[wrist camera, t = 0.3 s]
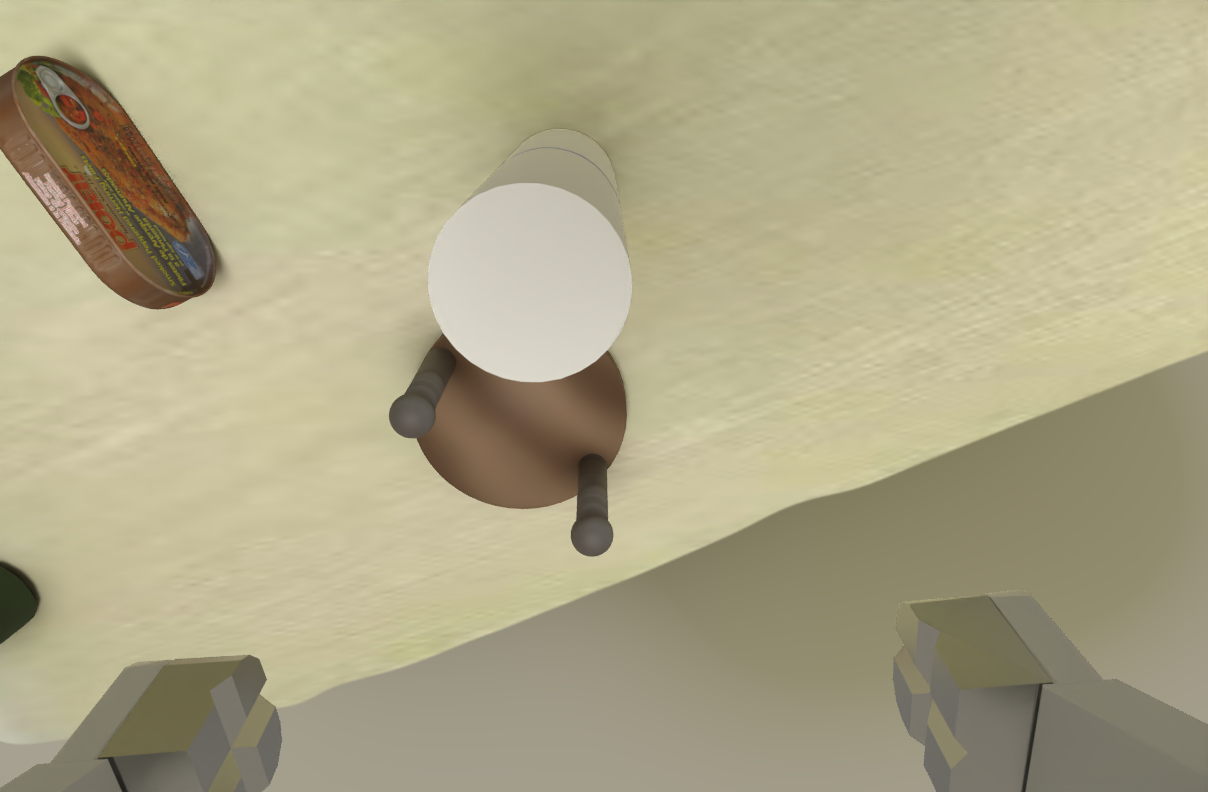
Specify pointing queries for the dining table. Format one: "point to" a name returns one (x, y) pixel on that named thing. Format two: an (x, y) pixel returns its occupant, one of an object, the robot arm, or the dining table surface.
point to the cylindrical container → (535, 263)
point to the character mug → (14, 604)
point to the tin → (102, 184)
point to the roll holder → (520, 436)
